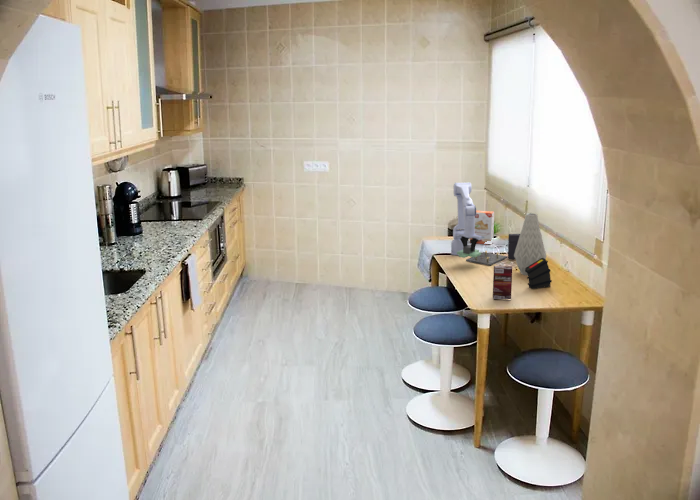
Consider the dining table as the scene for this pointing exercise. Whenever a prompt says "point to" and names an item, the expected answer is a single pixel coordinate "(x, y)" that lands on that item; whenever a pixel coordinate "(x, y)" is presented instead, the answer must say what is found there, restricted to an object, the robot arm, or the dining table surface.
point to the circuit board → (468, 252)
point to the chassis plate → (487, 258)
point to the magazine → (538, 274)
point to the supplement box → (502, 282)
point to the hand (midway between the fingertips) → (469, 250)
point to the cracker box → (484, 225)
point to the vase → (529, 243)
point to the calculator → (512, 245)
